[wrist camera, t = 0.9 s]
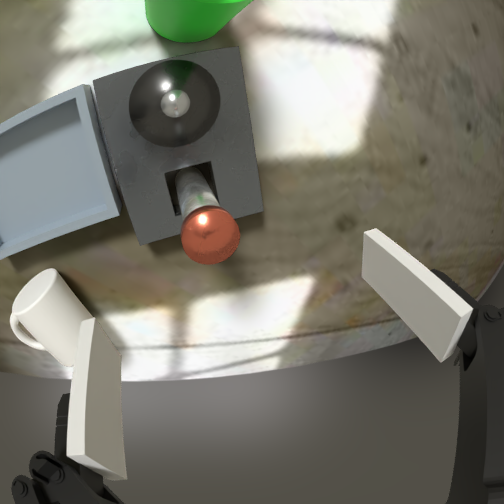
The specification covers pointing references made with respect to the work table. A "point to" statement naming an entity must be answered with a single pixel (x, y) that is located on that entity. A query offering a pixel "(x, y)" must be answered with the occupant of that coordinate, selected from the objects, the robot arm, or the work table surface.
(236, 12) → the green-shelled ribbed roller
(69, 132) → the tray
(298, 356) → the work table surface
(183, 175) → the pin
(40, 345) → the mug
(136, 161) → the grey block with dome
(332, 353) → the work table surface
